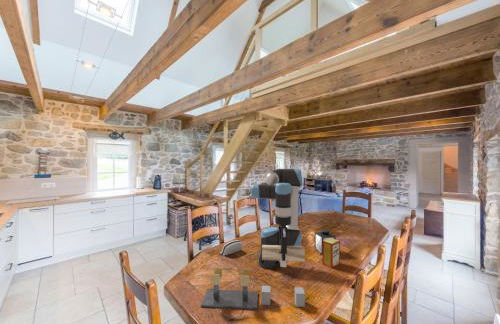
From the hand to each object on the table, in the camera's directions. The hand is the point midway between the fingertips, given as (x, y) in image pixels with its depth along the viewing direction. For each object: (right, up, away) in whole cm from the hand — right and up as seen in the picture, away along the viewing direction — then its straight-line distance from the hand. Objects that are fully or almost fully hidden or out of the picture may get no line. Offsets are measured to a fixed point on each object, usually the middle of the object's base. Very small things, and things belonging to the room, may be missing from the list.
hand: (282, 264), depth 100 cm
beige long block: (0, +3, 0) cm, 3 cm away
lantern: (+42, -20, +59) cm, 75 cm away
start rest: (0, -18, 0) cm, 18 cm away
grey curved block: (-29, -19, +56) cm, 66 cm away
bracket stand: (-25, -18, +1) cm, 31 cm away
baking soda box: (+38, -19, +38) cm, 57 cm away
